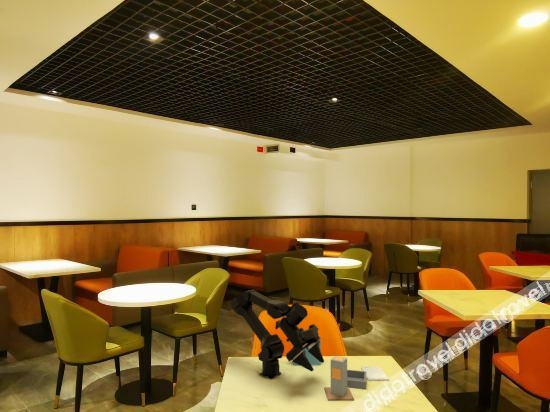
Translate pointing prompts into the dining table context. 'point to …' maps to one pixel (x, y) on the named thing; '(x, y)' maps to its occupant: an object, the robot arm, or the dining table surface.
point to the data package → (311, 356)
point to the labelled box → (339, 376)
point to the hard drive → (375, 374)
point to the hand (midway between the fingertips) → (318, 366)
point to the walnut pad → (333, 397)
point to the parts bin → (356, 379)
